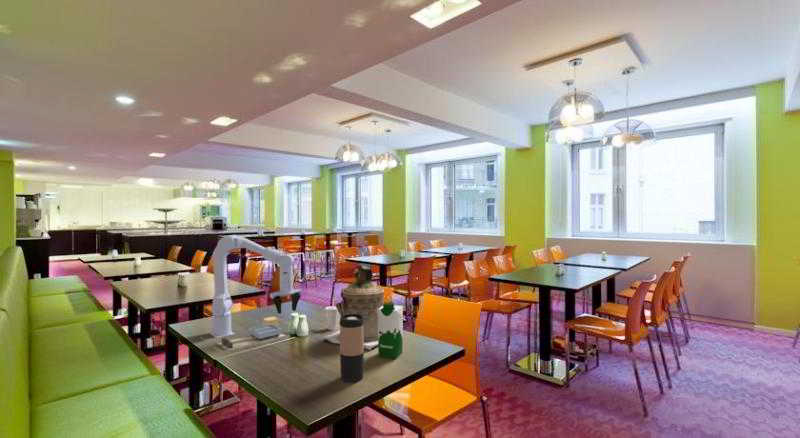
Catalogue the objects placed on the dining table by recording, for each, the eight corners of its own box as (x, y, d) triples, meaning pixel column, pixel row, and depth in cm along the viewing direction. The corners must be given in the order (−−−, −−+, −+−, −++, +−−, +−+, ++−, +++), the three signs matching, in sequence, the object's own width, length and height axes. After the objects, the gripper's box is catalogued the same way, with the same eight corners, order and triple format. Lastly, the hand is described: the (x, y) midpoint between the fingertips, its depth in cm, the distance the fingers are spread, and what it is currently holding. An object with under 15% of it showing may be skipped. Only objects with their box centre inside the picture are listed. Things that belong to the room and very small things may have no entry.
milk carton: (375, 357, 146) (375, 303, 145) (384, 349, 154) (384, 298, 154) (397, 360, 143) (397, 305, 142) (405, 351, 151) (405, 300, 151)
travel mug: (340, 373, 131) (340, 314, 131) (363, 372, 132) (363, 313, 131) (339, 383, 124) (338, 320, 123) (363, 382, 124) (363, 319, 124)
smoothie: (336, 331, 177) (336, 300, 177) (323, 330, 179) (322, 299, 178) (341, 327, 184) (341, 297, 183) (328, 326, 185) (328, 296, 185)
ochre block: (263, 329, 181) (263, 318, 181) (273, 327, 184) (273, 316, 184) (267, 331, 177) (267, 320, 177) (278, 329, 181) (278, 318, 181)
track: (216, 343, 161) (216, 337, 161) (274, 330, 178) (274, 325, 178) (227, 351, 152) (227, 345, 152) (287, 337, 169) (287, 332, 169)
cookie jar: (401, 334, 173) (400, 262, 172) (370, 352, 151) (370, 269, 151) (355, 326, 185) (354, 258, 184) (320, 342, 163) (320, 265, 163)
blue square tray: (249, 336, 169) (249, 328, 169) (271, 331, 176) (271, 323, 176) (258, 341, 162) (258, 333, 162) (281, 336, 169) (281, 328, 168)
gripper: (275, 284, 167) (275, 316, 168) (305, 280, 177) (305, 310, 177) (267, 282, 172) (268, 313, 173) (297, 278, 182) (298, 307, 183)
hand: (286, 311), depth 175 cm, fingers open, 6 cm apart
